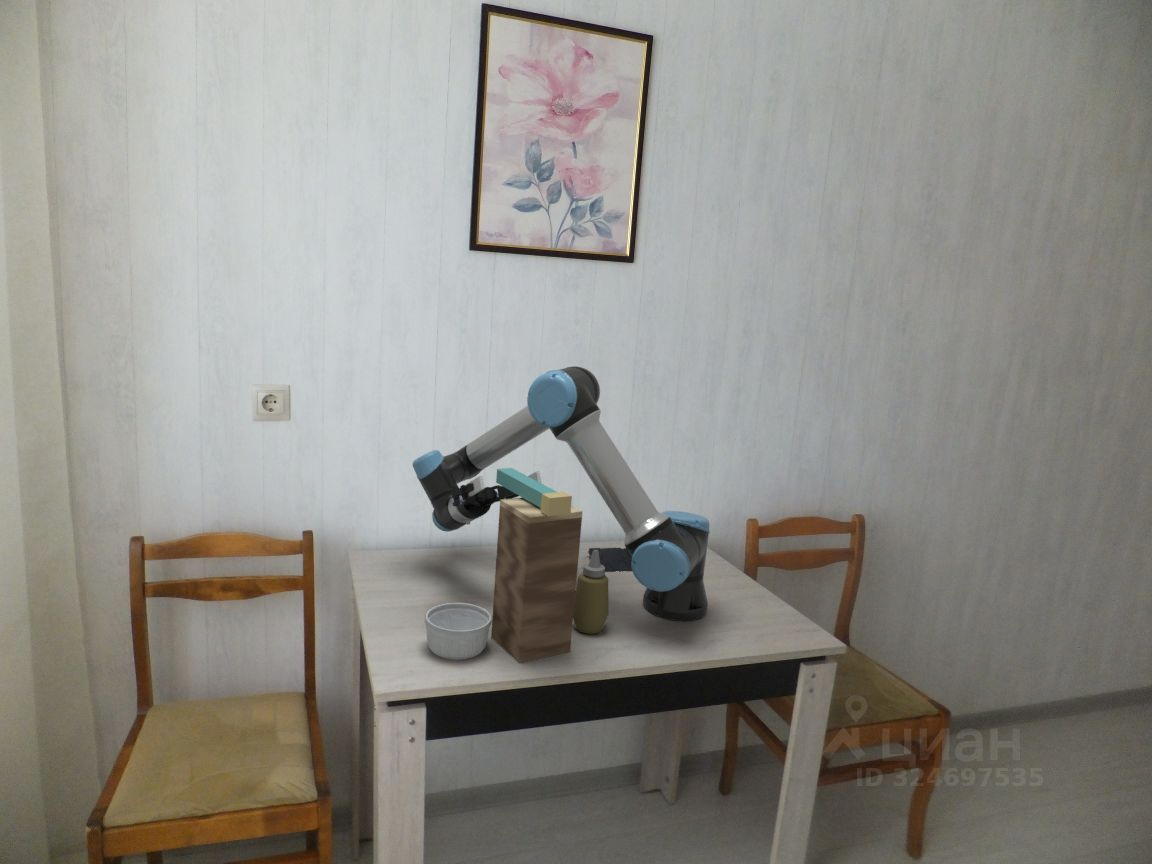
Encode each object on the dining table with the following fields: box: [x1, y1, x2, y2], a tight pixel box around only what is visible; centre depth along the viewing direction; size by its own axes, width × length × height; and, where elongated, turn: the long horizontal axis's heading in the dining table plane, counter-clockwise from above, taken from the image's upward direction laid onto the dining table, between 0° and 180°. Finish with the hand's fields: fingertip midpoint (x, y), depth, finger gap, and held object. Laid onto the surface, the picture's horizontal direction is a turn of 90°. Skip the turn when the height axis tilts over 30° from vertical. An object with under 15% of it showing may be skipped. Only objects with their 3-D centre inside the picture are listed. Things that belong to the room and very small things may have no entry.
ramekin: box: [424, 602, 492, 661], centre depth 169 cm, size 13×13×7 cm
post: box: [490, 497, 583, 664], centre depth 170 cm, size 12×12×30 cm
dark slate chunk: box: [587, 545, 633, 573], centre depth 226 cm, size 15×22×5 cm
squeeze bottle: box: [573, 550, 610, 635], centre depth 181 cm, size 8×8×18 cm
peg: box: [495, 467, 573, 516], centre depth 170 cm, size 23×5×4 cm, turn 33°
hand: (511, 479), depth 176 cm, fingers open, 13 cm apart
